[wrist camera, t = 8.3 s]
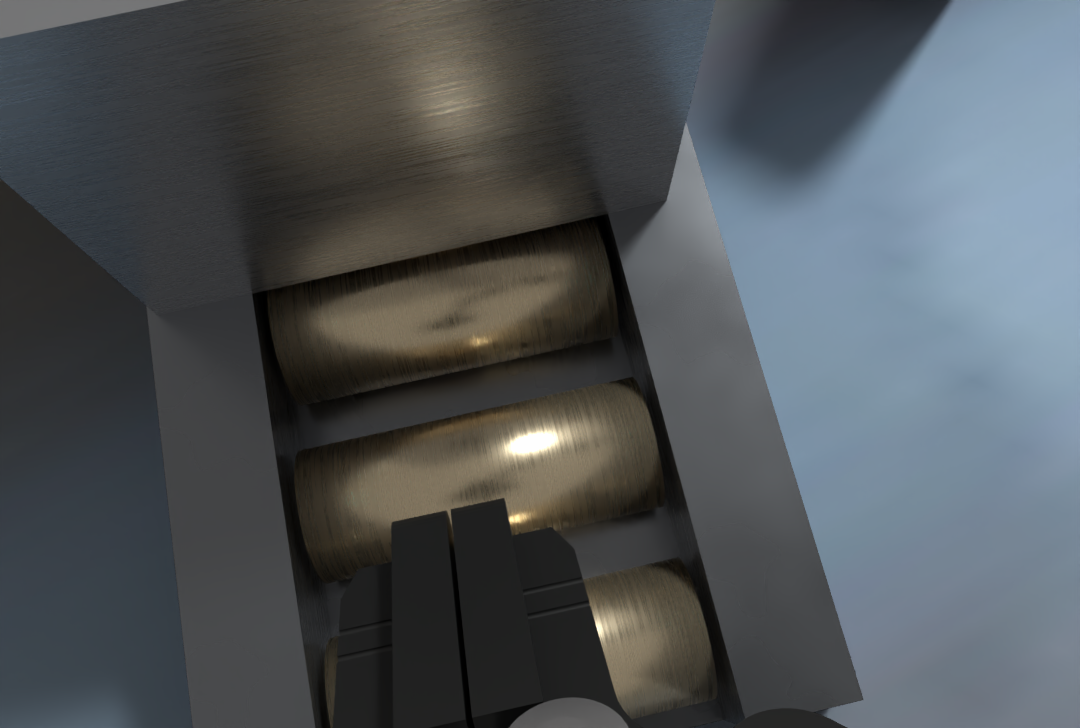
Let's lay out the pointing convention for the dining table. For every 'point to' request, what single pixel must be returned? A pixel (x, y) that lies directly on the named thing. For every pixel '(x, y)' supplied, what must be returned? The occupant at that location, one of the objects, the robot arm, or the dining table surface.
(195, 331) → the roller track
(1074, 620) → the dining table surface
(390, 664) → the robot arm
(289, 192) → the block
